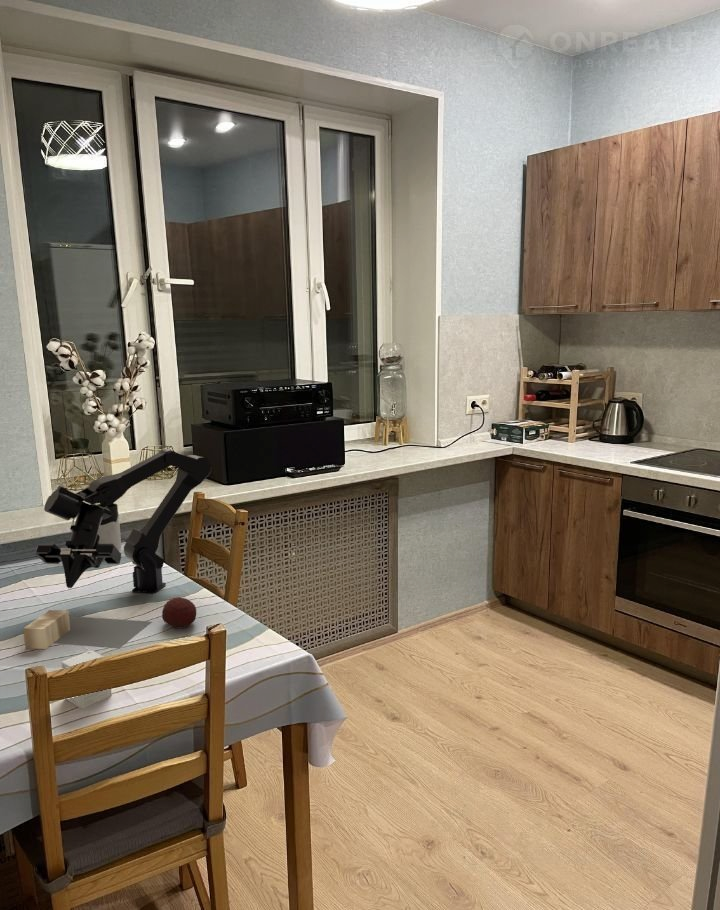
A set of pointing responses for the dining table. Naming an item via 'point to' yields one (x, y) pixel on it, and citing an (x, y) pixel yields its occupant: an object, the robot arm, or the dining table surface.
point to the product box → (89, 698)
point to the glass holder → (110, 528)
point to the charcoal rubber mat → (101, 631)
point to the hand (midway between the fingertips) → (69, 587)
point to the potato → (179, 612)
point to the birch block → (46, 629)
